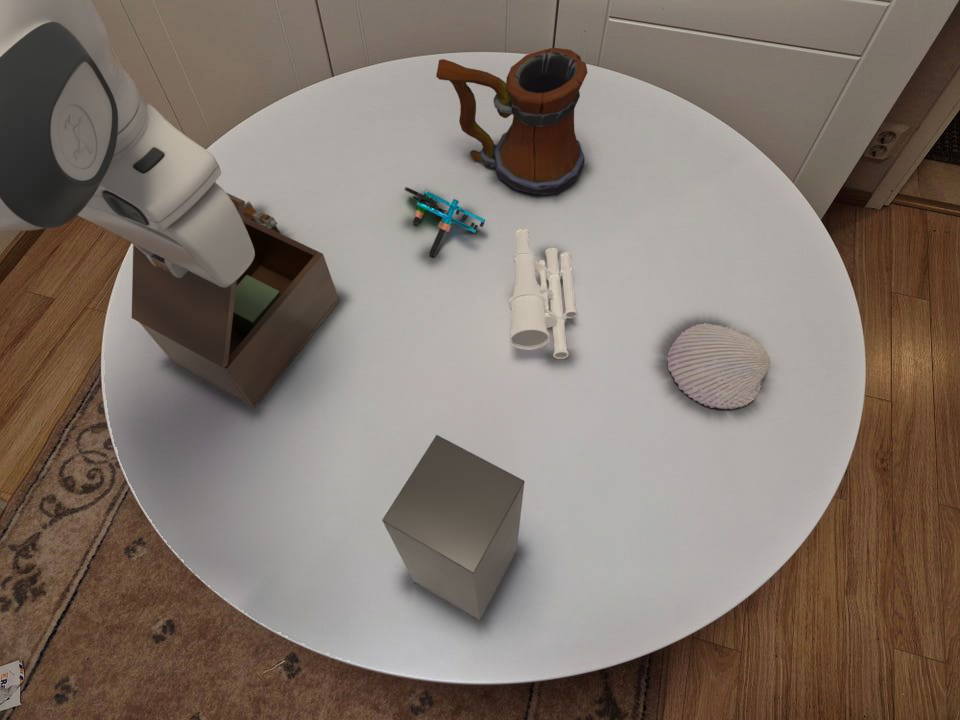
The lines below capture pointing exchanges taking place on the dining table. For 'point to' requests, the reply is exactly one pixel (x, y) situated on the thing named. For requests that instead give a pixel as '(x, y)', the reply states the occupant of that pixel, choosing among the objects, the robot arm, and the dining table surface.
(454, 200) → the stick construction toy
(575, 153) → the mug
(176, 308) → the chest lid
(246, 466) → the dining table surface
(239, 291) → the block
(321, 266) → the chest
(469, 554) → the stand
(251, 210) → the wooden post with brackets
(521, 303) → the white tubular piece
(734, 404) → the seashell
